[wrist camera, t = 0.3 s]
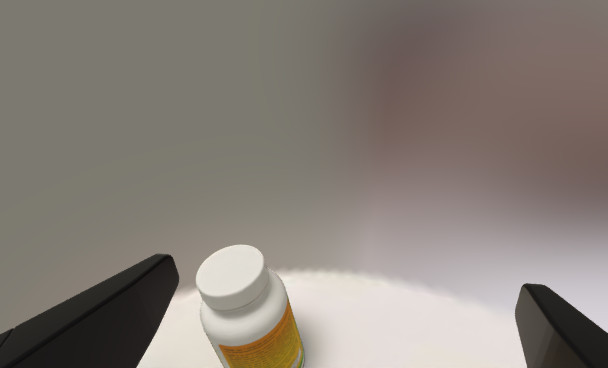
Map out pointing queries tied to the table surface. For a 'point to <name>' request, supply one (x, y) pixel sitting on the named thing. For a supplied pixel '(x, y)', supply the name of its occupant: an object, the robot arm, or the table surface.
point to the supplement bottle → (247, 311)
